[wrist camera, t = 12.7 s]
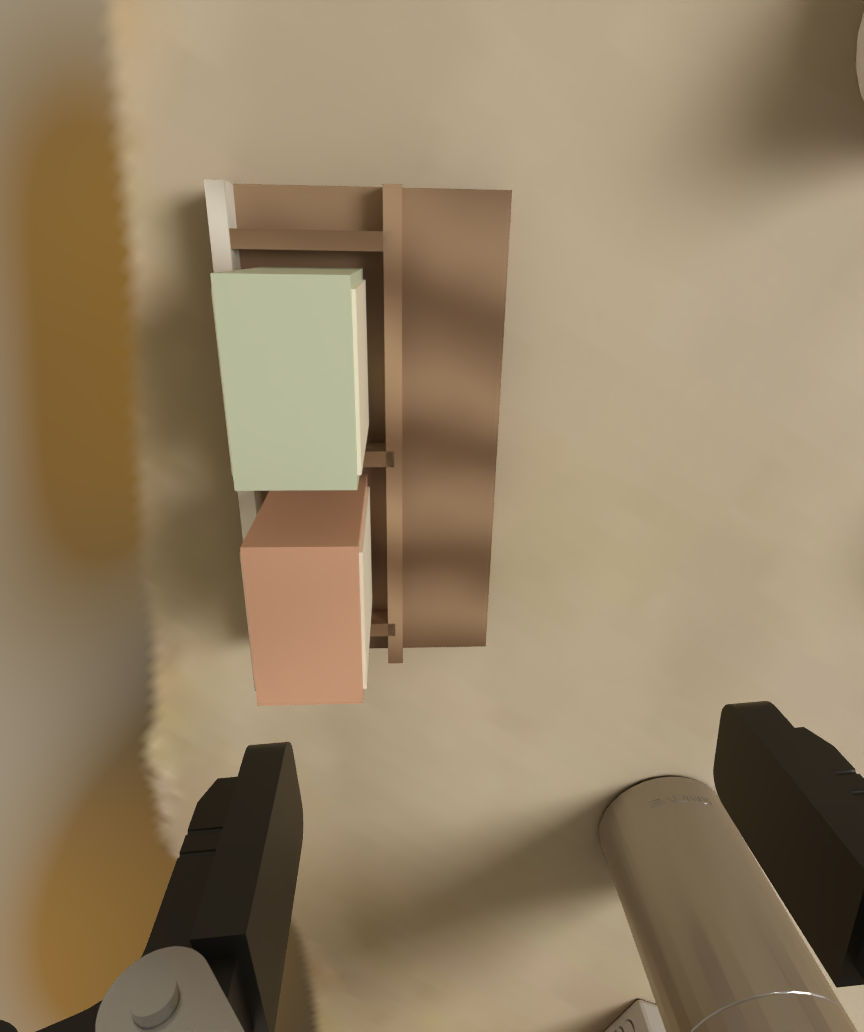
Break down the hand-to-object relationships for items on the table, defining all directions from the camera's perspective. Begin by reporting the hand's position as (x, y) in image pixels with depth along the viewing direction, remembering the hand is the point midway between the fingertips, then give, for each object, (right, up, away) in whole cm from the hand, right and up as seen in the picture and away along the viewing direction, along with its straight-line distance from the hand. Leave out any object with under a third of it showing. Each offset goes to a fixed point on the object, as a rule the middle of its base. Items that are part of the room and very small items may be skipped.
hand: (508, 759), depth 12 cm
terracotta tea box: (-7, +3, +22) cm, 24 cm away
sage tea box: (-7, +12, +19) cm, 23 cm away
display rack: (-5, +9, +22) cm, 24 cm away
